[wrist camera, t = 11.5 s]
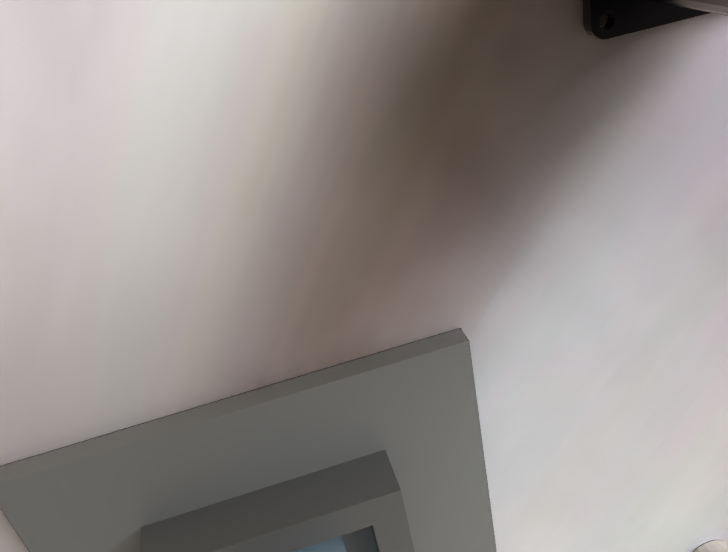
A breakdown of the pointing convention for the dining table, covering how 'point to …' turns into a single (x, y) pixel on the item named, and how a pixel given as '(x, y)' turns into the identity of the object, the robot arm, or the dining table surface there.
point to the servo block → (327, 546)
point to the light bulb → (713, 547)
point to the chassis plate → (279, 468)
